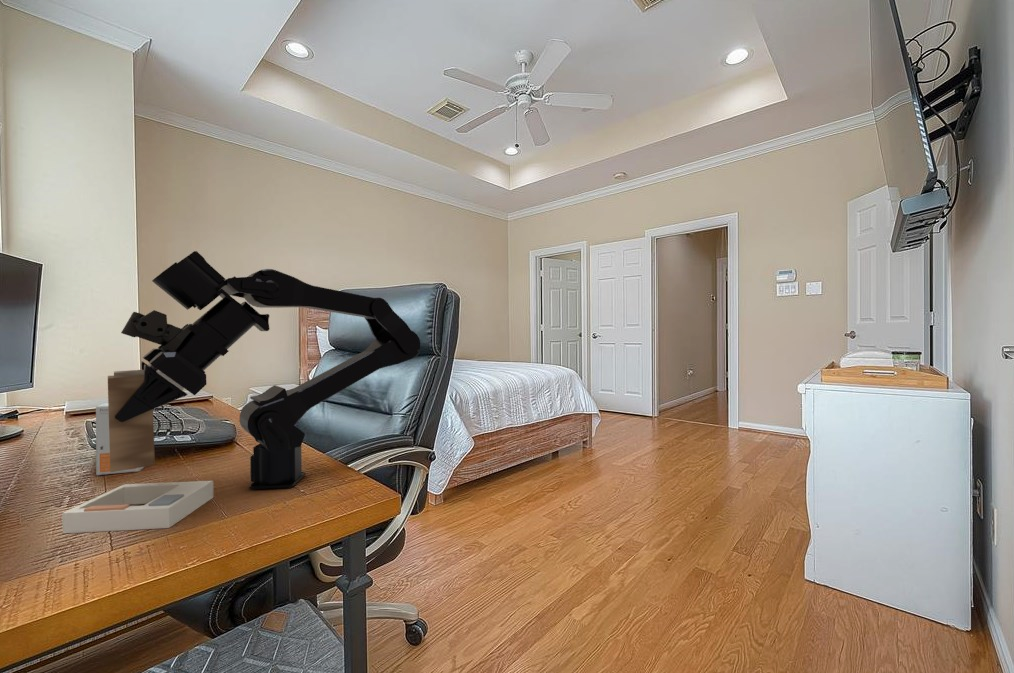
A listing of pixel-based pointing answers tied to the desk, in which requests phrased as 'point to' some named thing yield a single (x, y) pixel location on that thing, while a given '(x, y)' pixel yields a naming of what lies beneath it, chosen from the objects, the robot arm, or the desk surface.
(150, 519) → the tray
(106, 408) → the skincare box
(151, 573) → the desk surface
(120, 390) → the walnut plug
